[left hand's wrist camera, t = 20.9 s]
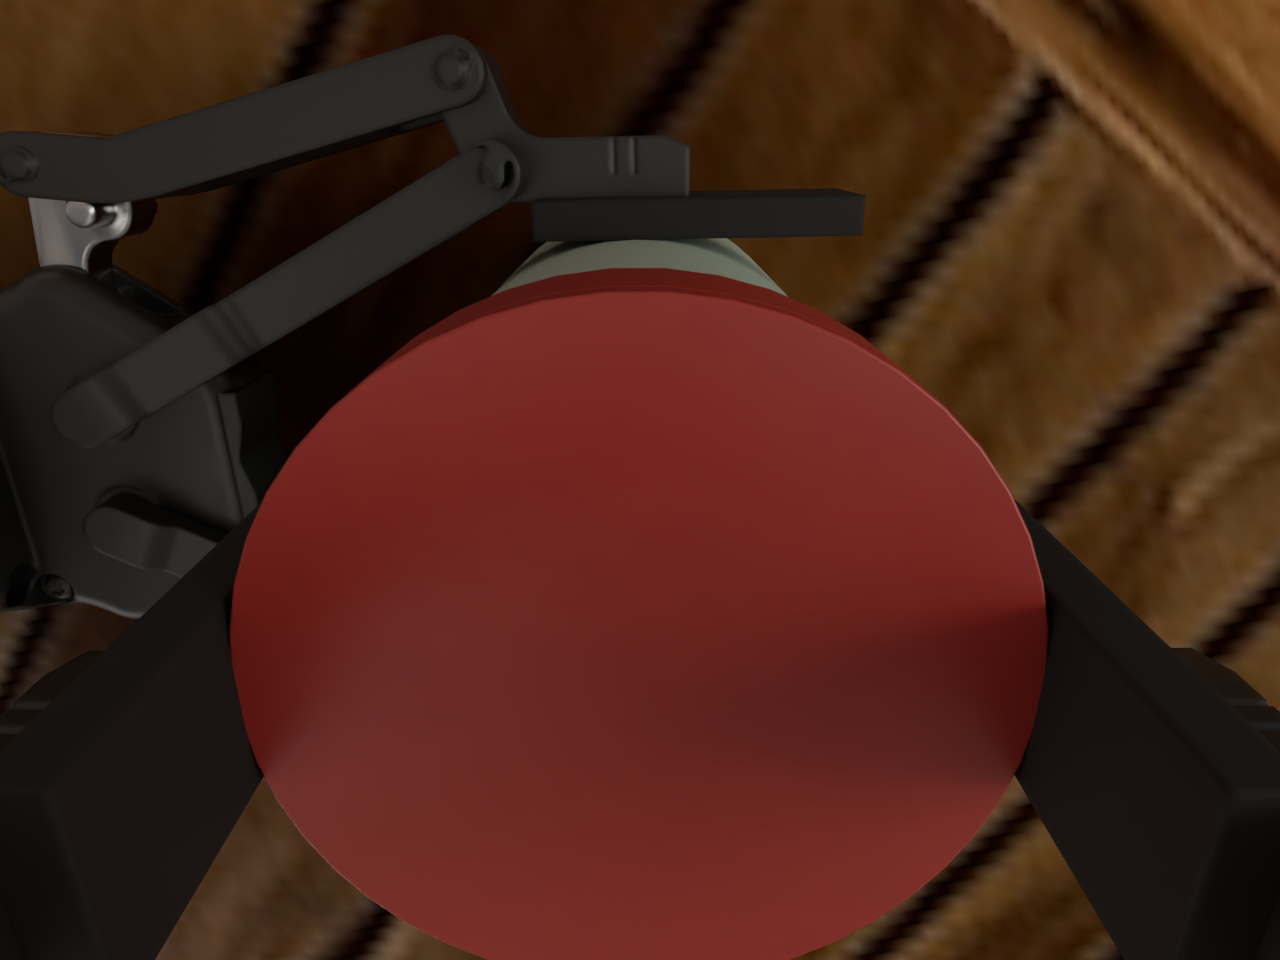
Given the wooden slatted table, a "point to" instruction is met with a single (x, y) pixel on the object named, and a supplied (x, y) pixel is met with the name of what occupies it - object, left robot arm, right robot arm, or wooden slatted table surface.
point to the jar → (640, 259)
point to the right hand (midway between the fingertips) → (832, 434)
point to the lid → (638, 626)
